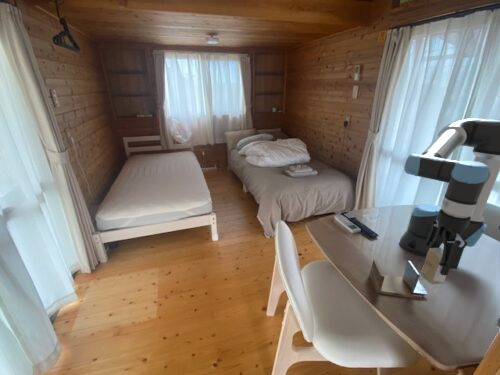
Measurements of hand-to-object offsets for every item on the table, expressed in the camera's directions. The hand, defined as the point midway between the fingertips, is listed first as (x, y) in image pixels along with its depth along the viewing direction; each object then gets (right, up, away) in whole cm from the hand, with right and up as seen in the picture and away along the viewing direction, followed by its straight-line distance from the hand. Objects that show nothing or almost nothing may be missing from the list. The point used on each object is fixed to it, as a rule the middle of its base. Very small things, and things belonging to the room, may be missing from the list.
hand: (432, 273), depth 81 cm
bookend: (+4, -11, +15) cm, 19 cm away
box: (0, -2, +1) cm, 2 cm away
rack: (-3, -11, +17) cm, 20 cm away
